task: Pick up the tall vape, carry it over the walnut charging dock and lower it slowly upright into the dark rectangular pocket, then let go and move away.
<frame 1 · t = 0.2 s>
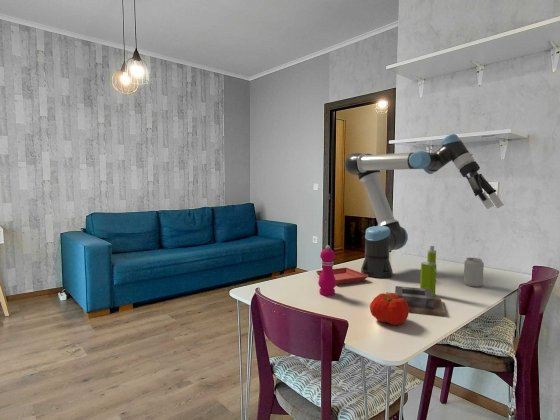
hand: (495, 207, 149), 36 cm above the table, tool tilted 35°, fingers open, 13 cm apart
vape: (427, 294, 147), on the table
plant saucer: (341, 280, 169), on the table
charging dock: (413, 305, 133), on the table
pepper mill: (327, 294, 147), on the table
can: (472, 285, 160), on the table
tomato: (388, 322, 118), on the table
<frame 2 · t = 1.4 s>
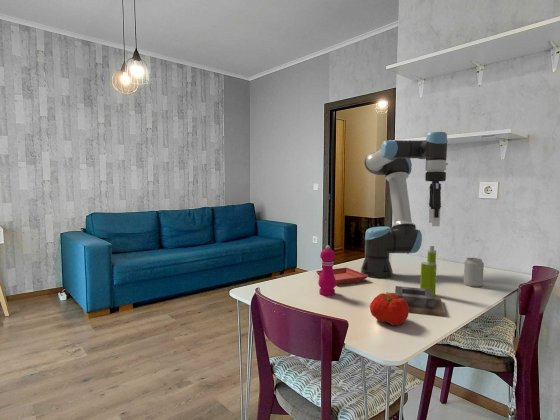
hand: (433, 224, 144), 29 cm above the table, tool pointing down, fingers open, 13 cm apart
nothing on the table moved.
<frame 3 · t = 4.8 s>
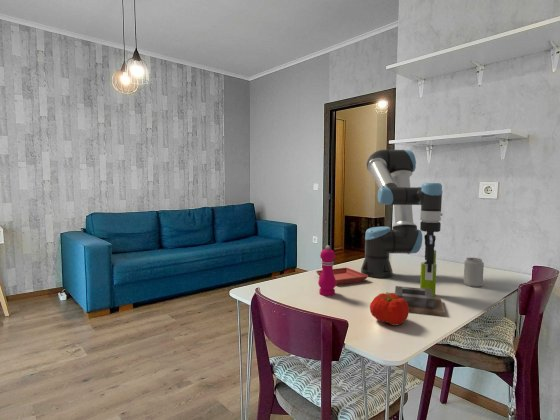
hand: (428, 278, 146), 7 cm above the table, tool pointing down, fingers closed on vape, 5 cm apart
vape: (427, 294, 147), on the table, touching gripper
everything else where it was.
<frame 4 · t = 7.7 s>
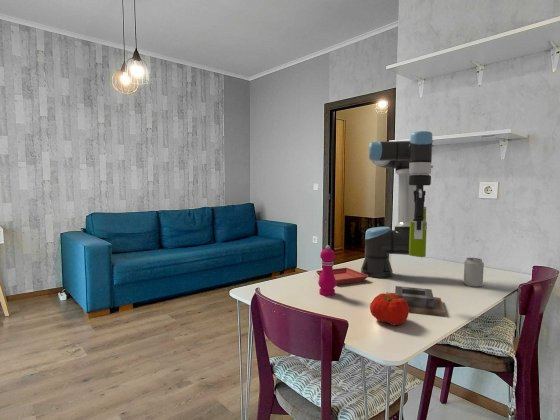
hand: (417, 237, 133), 25 cm above the table, tool pointing down, fingers closed on vape, 5 cm apart
vape: (417, 256, 133), point 18 cm above the table, touching gripper
everything else where it was.
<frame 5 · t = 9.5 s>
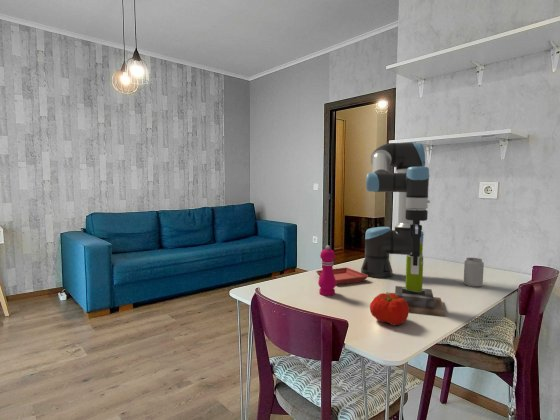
hand: (414, 272, 132), 13 cm above the table, tool pointing down, fingers closed on vape, 5 cm apart
vape: (413, 290, 133), point 6 cm above the table, touching gripper
everything else where it was.
when the fingers open (9 cm above the table, at t = 10.8 s): vape stays where it is, resting on charging dock.
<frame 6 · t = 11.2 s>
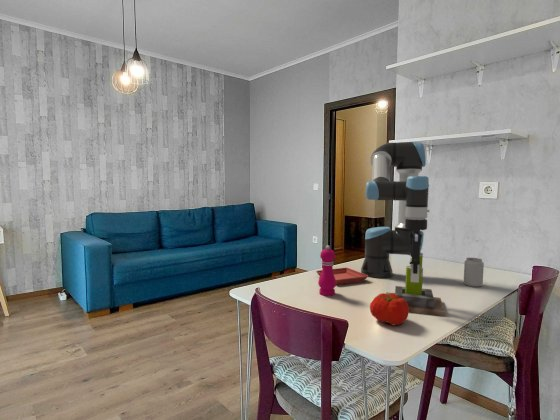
hand: (414, 278, 133), 10 cm above the table, tool pointing down, fingers open, 10 cm apart
vape: (413, 301, 133), point 1 cm above the table, touching charging dock
everything else where it was.
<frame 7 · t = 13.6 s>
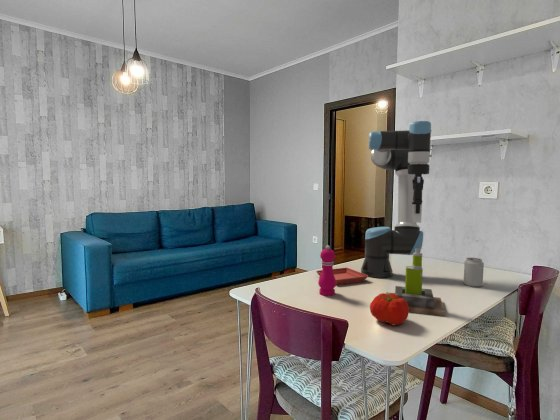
hand: (416, 220, 136), 31 cm above the table, tool pointing down, fingers open, 13 cm apart
nothing on the table moved.
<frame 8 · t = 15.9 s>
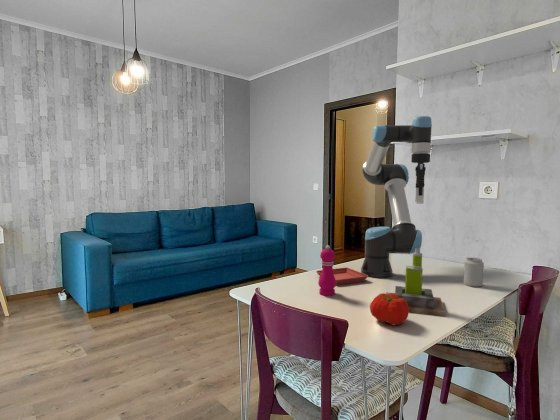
hand: (419, 202, 156), 37 cm above the table, tool pointing down, fingers open, 13 cm apart
nothing on the table moved.
at the end: vape 0.1 cm off-centre on the charging dock, point 1.3 cm above the charging dock's base; vape tilted 0°; the gripper is holding nothing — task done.
